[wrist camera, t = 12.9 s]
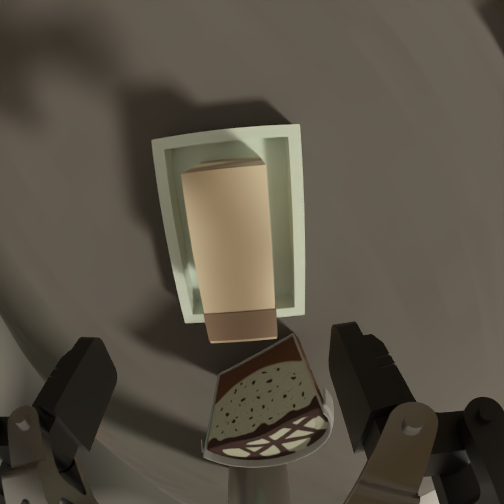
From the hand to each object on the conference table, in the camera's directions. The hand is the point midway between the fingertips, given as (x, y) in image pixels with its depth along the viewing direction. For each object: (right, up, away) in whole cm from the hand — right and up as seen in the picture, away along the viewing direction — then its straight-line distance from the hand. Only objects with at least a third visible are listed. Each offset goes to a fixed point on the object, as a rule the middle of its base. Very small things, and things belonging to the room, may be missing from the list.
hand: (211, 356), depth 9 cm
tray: (0, +6, +13) cm, 14 cm away
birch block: (0, +5, +12) cm, 13 cm away
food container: (+3, -9, +19) cm, 21 cm away
